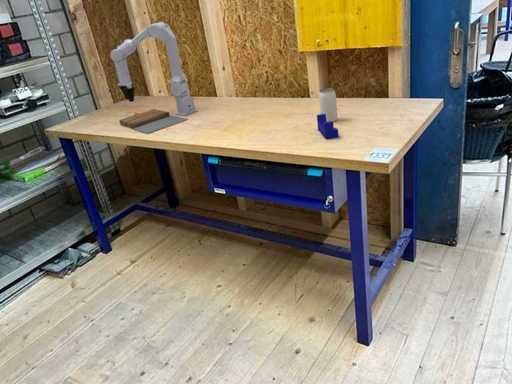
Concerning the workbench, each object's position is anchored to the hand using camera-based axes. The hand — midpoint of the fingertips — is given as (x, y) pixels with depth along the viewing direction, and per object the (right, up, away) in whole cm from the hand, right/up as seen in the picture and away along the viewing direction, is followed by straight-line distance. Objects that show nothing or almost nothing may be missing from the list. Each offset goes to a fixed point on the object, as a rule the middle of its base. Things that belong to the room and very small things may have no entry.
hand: (130, 100), depth 219 cm
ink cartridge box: (+24, +5, +24) cm, 34 cm away
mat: (+20, -15, -16) cm, 30 cm away
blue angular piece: (+91, -27, -66) cm, 116 cm away
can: (+94, -19, -52) cm, 109 cm away
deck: (+9, -11, -5) cm, 15 cm away
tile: (+8, -8, -3) cm, 12 cm away
